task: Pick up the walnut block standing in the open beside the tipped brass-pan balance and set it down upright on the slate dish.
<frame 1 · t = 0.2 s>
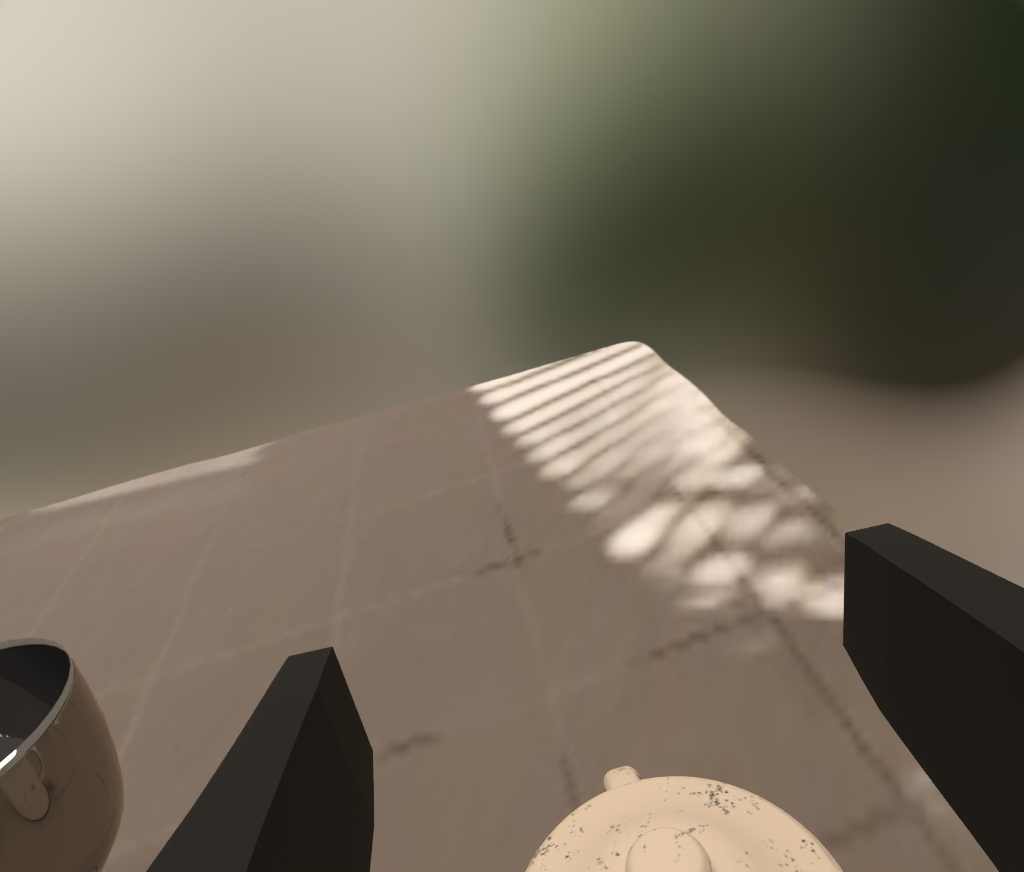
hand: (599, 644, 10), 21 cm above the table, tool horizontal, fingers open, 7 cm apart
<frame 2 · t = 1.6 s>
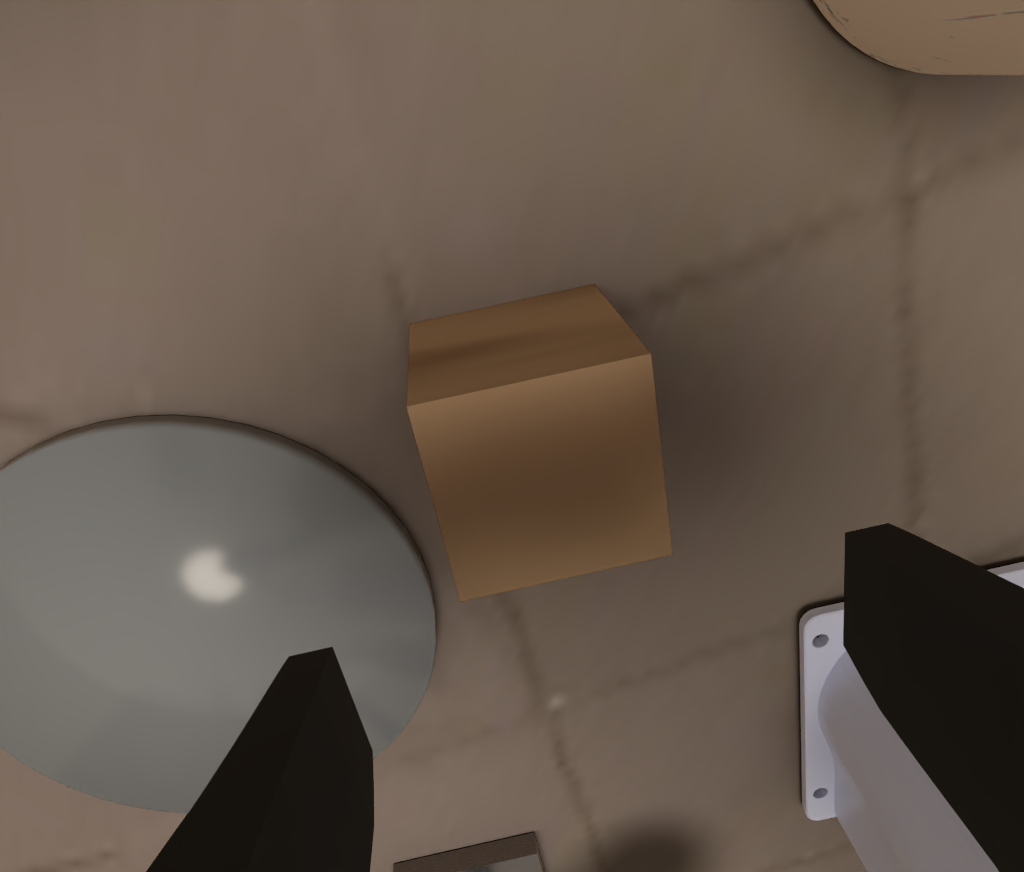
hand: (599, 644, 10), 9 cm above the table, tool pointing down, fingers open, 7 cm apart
walnut block: (518, 388, 19), on the table
slate dish: (201, 627, 21), on the table
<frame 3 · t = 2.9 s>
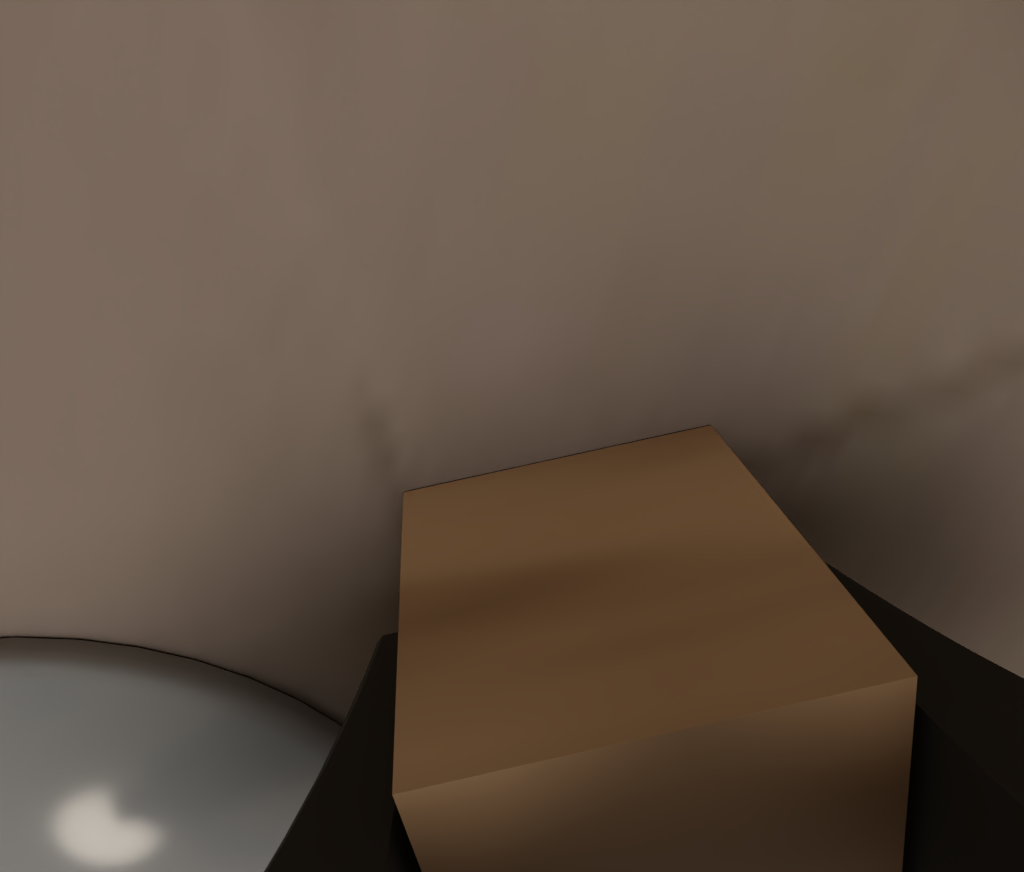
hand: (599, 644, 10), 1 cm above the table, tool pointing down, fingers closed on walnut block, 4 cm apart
walnut block: (580, 582, 12), on the table, touching gripper
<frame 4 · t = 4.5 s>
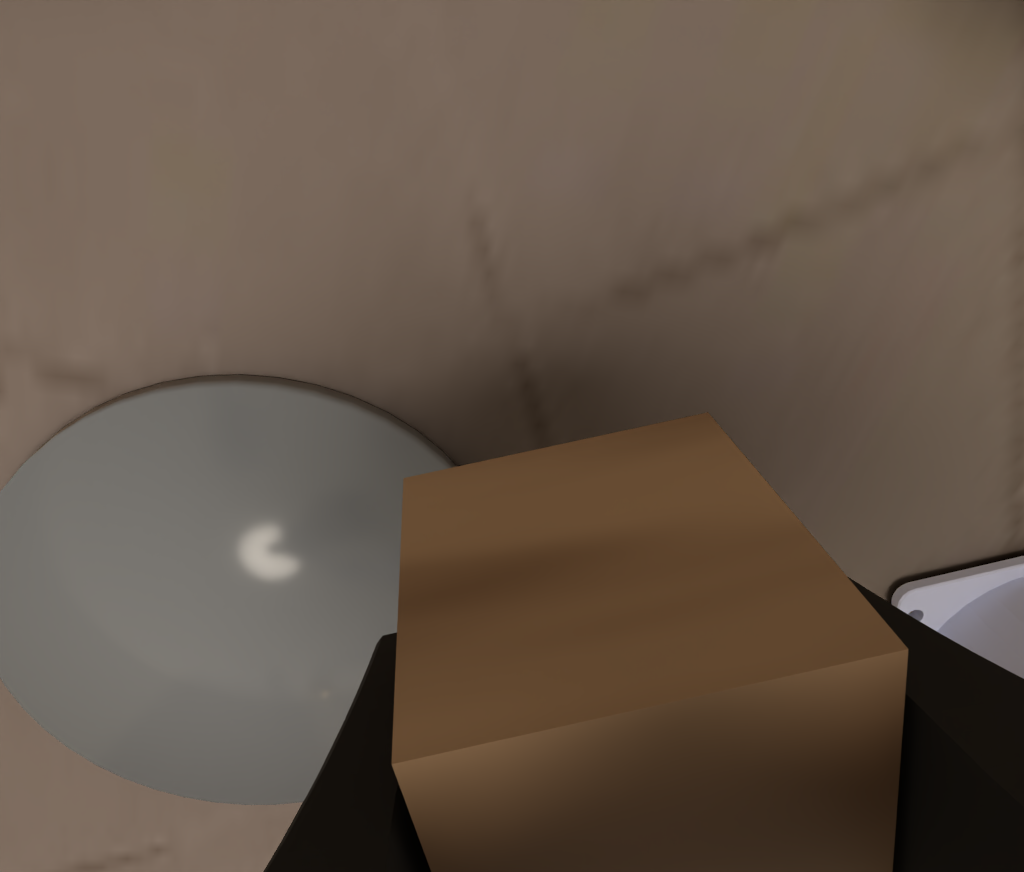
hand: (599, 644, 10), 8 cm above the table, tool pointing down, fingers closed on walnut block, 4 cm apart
walnut block: (578, 569, 12), point 7 cm above the table, touching gripper
slate dish: (262, 606, 20), on the table
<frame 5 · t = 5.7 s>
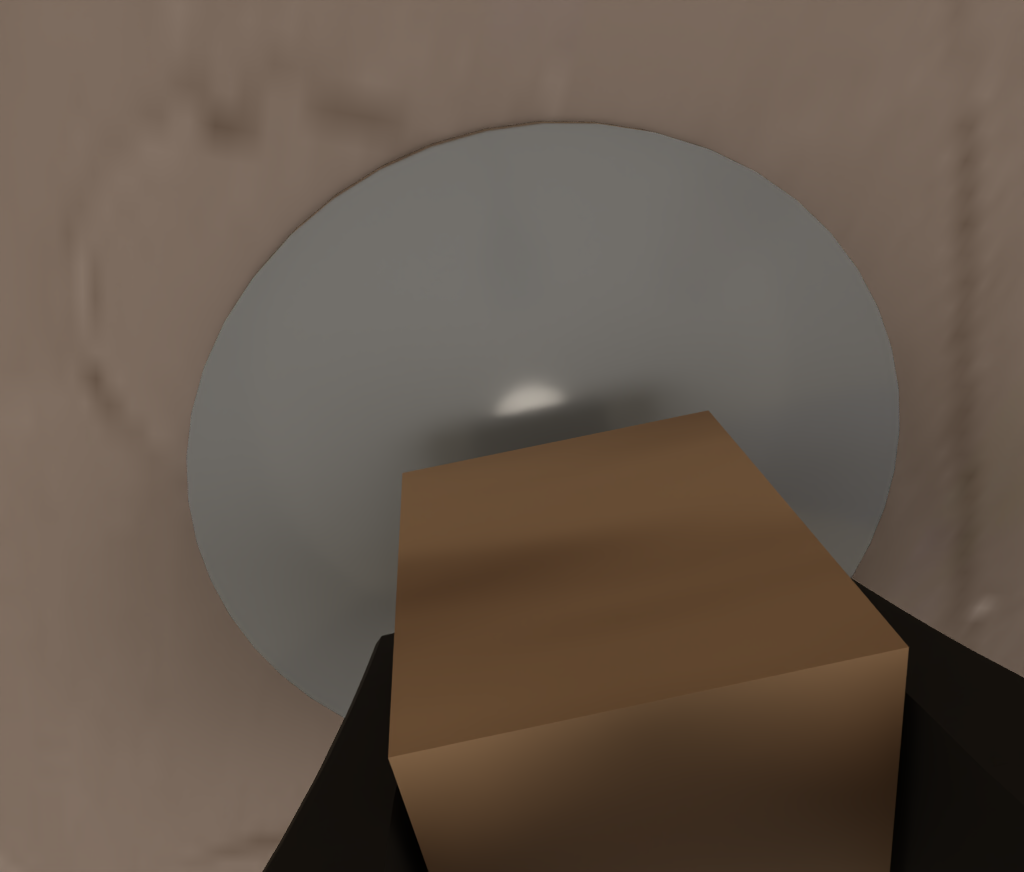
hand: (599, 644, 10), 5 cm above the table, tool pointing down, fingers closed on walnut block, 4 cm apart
walnut block: (576, 566, 12), point 3 cm above the table, touching gripper
slate dish: (551, 483, 15), on the table
when the fingers open (3 cm above the table, at t = 6.4 s): walnut block drops 1 cm, resting on slate dish.
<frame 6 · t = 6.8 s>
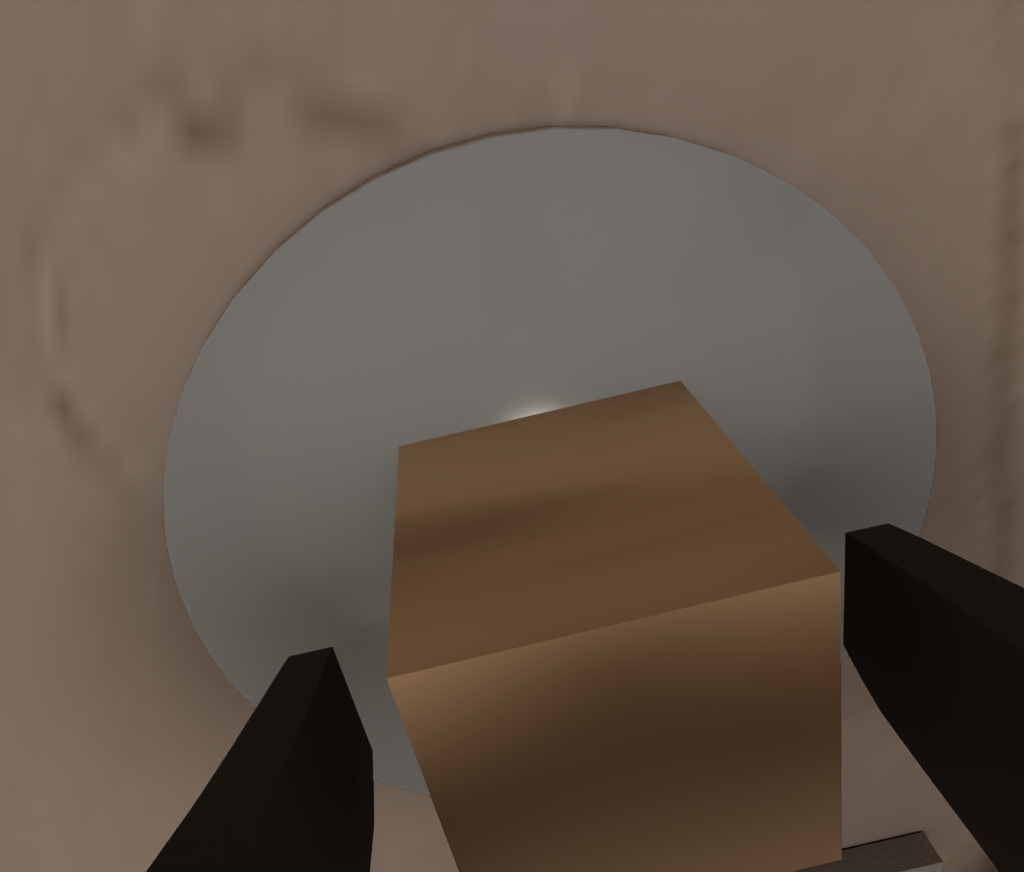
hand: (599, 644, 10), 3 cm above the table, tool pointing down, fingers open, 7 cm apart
walnut block: (564, 530, 13), point 1 cm above the table, touching slate dish
slate dish: (559, 515, 14), on the table
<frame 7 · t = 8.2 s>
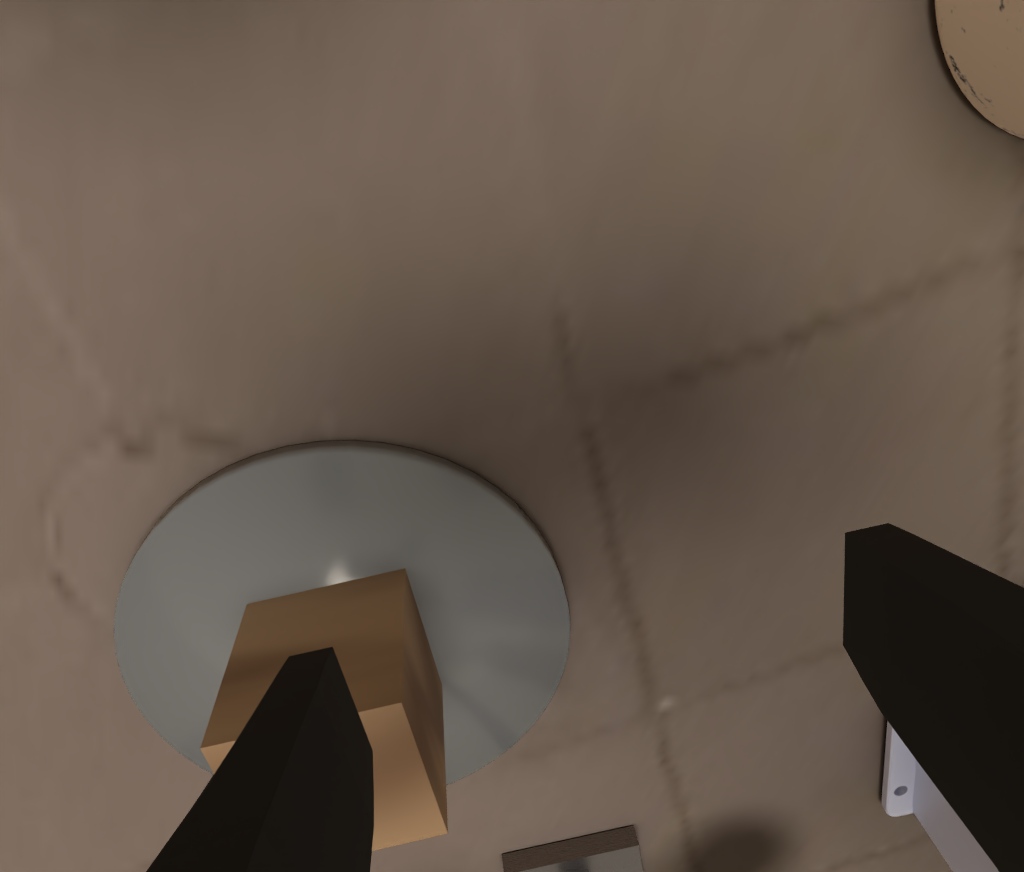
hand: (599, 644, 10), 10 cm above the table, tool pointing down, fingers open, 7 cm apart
walnut block: (349, 646, 22), point 1 cm above the table, touching slate dish
slate dish: (353, 633, 23), on the table
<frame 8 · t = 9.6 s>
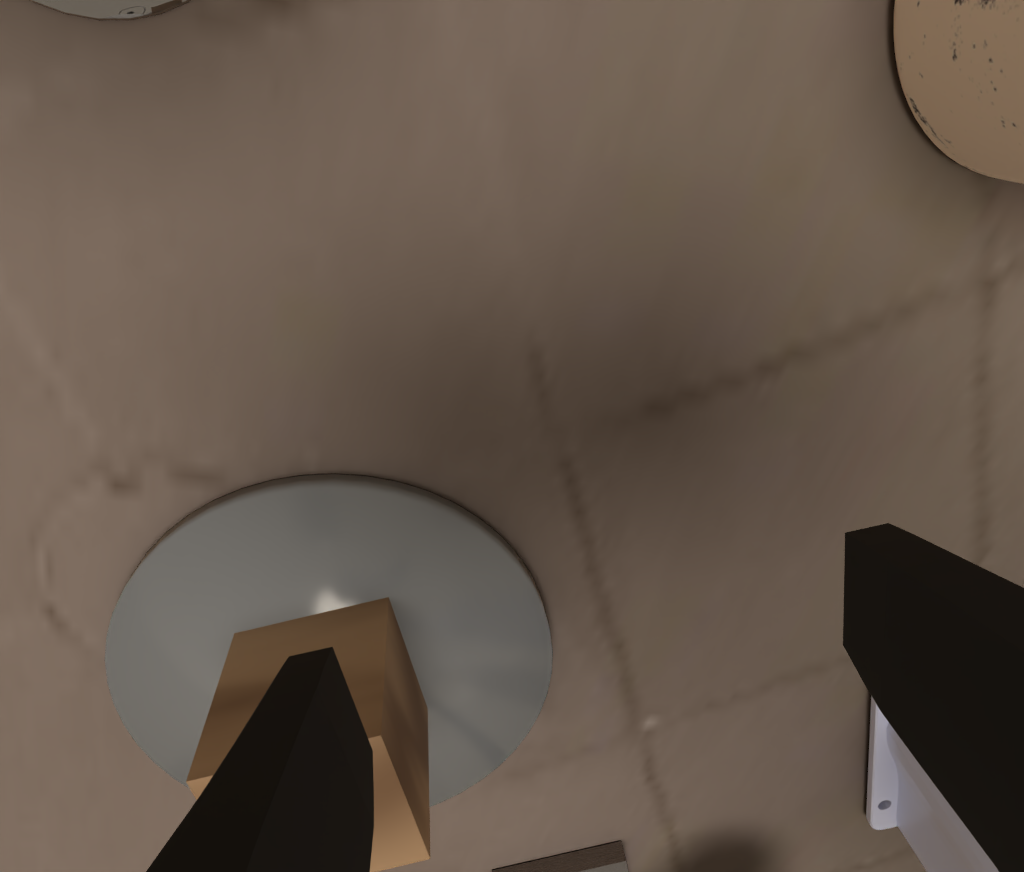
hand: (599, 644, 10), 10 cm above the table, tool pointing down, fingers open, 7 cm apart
walnut block: (335, 672, 22), point 1 cm above the table, touching slate dish
slate dish: (340, 658, 23), on the table
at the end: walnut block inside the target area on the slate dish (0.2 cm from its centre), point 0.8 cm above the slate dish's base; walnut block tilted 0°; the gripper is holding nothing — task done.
